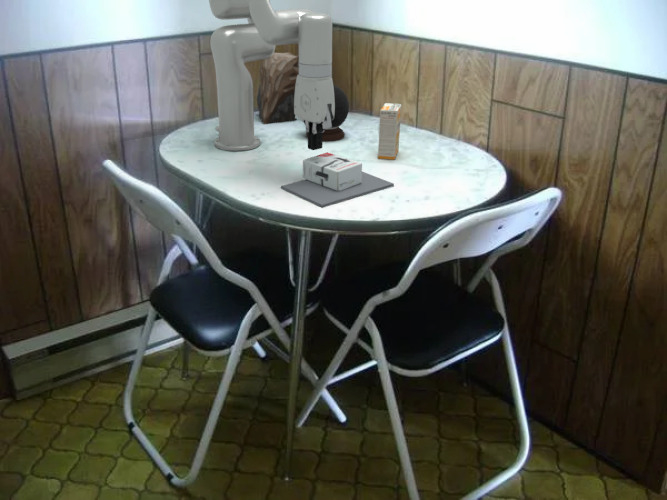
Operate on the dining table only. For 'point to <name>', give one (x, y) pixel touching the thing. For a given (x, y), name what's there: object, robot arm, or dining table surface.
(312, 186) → the mat
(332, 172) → the ink box
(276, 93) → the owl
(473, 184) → the dining table surface
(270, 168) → the dining table surface
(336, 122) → the ball on wooden base
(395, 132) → the supplement box
